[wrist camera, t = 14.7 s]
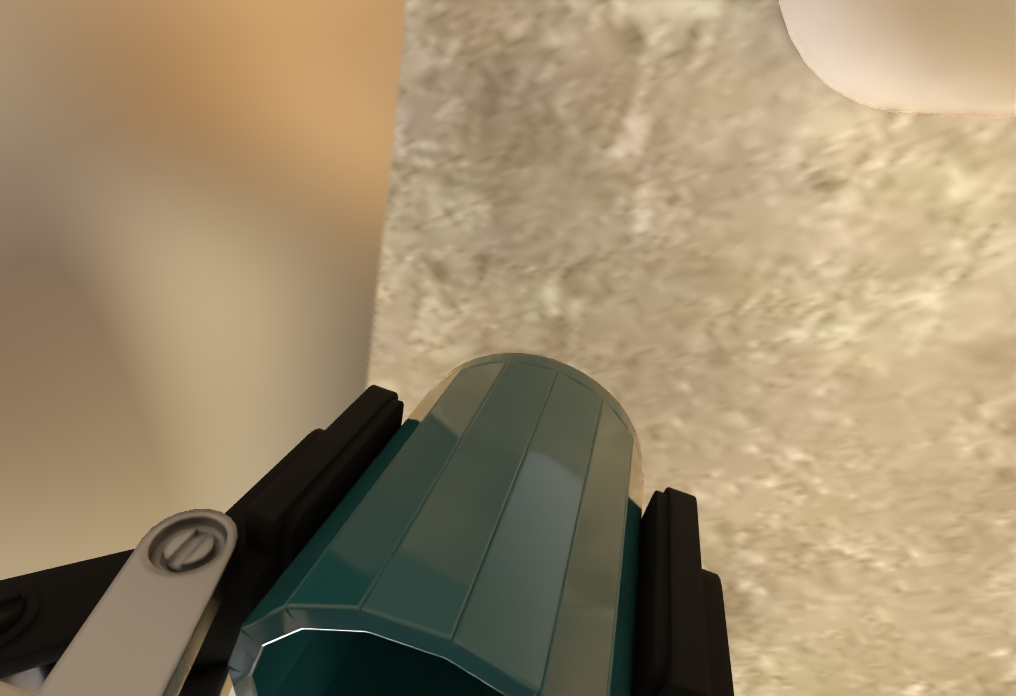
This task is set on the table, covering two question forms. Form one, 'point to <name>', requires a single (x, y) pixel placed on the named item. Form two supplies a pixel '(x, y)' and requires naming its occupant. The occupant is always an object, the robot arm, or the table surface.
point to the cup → (469, 552)
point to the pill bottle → (912, 53)
